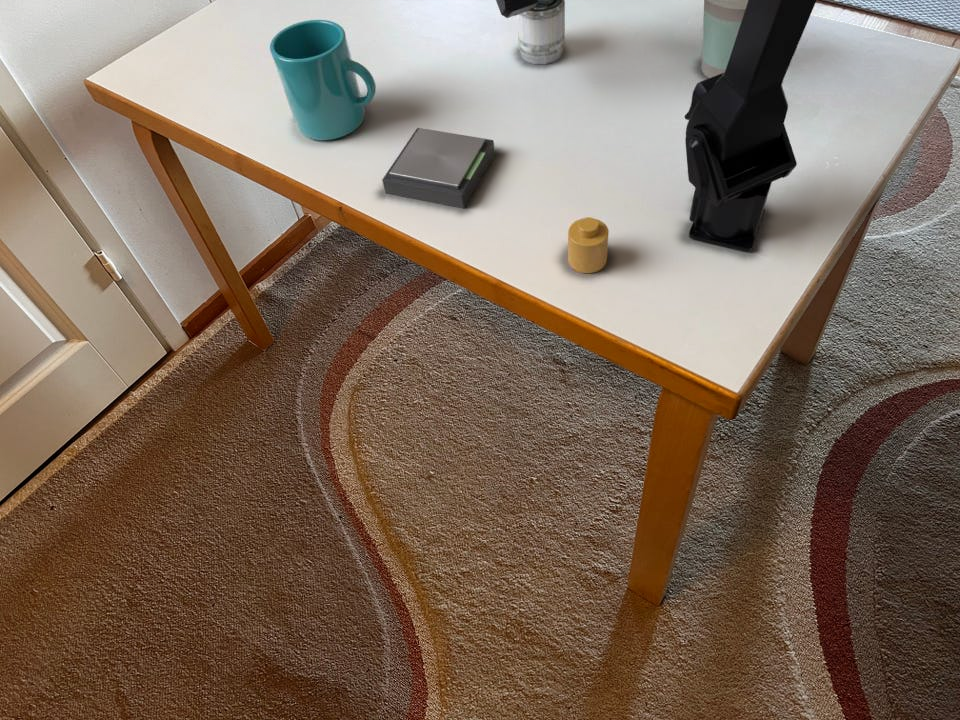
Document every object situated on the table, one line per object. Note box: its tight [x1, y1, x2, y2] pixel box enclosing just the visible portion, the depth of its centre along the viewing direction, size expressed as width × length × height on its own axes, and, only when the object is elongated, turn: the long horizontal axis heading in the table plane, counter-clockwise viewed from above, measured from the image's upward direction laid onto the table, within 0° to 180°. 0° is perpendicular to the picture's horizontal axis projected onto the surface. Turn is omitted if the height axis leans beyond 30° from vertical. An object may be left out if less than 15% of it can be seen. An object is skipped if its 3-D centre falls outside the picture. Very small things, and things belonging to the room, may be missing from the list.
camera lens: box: [516, 0, 566, 65], centre depth 95 cm, size 6×6×8 cm
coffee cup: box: [700, 0, 748, 79], centre depth 87 cm, size 8×8×12 cm
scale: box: [381, 127, 496, 209], centre depth 84 cm, size 10×10×3 cm
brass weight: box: [567, 216, 610, 274], centre depth 73 cm, size 4×4×5 cm
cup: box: [269, 19, 377, 141], centre depth 88 cm, size 9×12×11 cm
